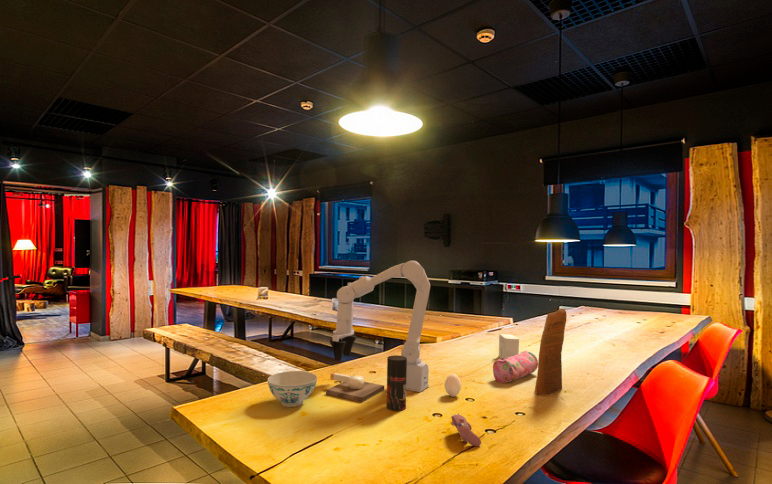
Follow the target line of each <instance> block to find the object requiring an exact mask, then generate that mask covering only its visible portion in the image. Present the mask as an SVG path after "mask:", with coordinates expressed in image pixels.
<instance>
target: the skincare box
mask: <svg viewBox="0 0 772 484" xmlns="http://www.w3.org/2000/svg"><path fill="white" fill-rule="evenodd" d="M498 341H499V342H498V358H499V357H500V358H504V357H511V356H515V355H518V354H520V353H519V350H520V349H519V347H520V339H519V338H518V337H516V336H515V335H514V334H510V333H509V334H508V333H507V334H506V333H504V334H503V333H499V335H498ZM500 358H499V359H500Z"/></svg>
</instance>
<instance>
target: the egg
mask: <svg viewBox="0 0 772 484" xmlns="http://www.w3.org/2000/svg"><path fill="white" fill-rule="evenodd" d="M444 389H445V392H446V393H447V394H448V396H450V397H456V396H458V395H459V394H460V391H461V389H462V383H461V380H460V378H459V376H458V375H457V374H455V373H449V374H448V376H447V377H446V379H445V381H444Z"/></svg>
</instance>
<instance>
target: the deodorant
mask: <svg viewBox="0 0 772 484" xmlns="http://www.w3.org/2000/svg"><path fill="white" fill-rule="evenodd" d="M386 362H387V363H386V365H387V366H386V368H387V369H386V409H388V411H393V412H399V411H405V410H406V409H407V390H406V377H407V358H406V357H404V356H401V355H389V356H387V361H386Z"/></svg>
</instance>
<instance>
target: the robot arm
mask: <svg viewBox="0 0 772 484" xmlns="http://www.w3.org/2000/svg"><path fill="white" fill-rule="evenodd" d="M402 277H404V278H406V279H407V280H408V281H410V282H411V283H412V285H413V286H414V288H415V289H416V291H415V297H414V298H415V299H414V302H413V308H412V313H411V318H410V323H409V327H408V332H407V337H406V340H405V342H404V344H403V346H402V349H401V351H400V356H404V357H406V358H407V377H406V391H412V392H416V393H417V392H418V393H421V392H423V391H424V390H425V389H427V388H428V387H430V385H429V371H430V370H429V366H428V364H427V363H425V362H422V358H420V356H421V355H420V352H421V344H420V340H421V335H422V331H423V326H424V325H423V324H424V320H425V316H426V311H427V306H428V300H429V296H430V290H431V283H430V280H429V279H428V276H427V274H426V270H425V269H424V267H423V266H422V265H421V264H420V263H419V262H418V261H417V260H409V261H406V262H403V263H399V264H397V265H394V266H391V267H388V269H385V270H383V271H382V272H380V273H377V274H376V275H373V276H367V275H365V276H364V275H361V276H360V277H359V278H358V279H357V280H355V281H353V282H347V285H346V286H342V287H340V288H339V289H338V290H337V292H336V299H337V309H336V310H337V312H336V325H335V327H336V328H335V330H333V331H332V333H333V335H332V338H331V339H330V340H329V344H330V345H331V348H332V351H333V356H334V357H333V358H334V361H338V362H341V361H342V359H343V356H346V357H350V356H351V353H352V349H353V345H354V343H355V341H356V339H357V335H354V334H355V329H354V328H353V322H354V300H355V299H356V298H357V299H358V298H360V297H363V296H364V295H366V294H369V293H371V292H373V291H374V290H375V289H374V288H375V287H376V286H377V285H379V284H381V283H383V282H386V281H388V280H389V279H392V278H402Z"/></svg>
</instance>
